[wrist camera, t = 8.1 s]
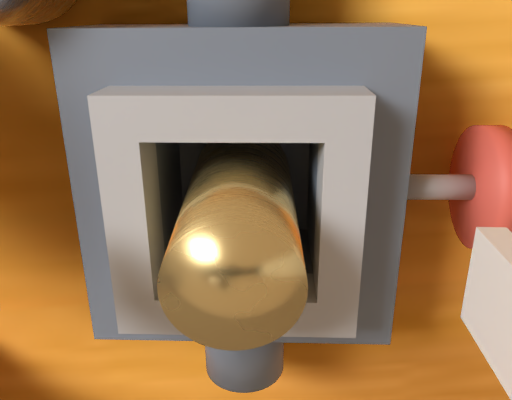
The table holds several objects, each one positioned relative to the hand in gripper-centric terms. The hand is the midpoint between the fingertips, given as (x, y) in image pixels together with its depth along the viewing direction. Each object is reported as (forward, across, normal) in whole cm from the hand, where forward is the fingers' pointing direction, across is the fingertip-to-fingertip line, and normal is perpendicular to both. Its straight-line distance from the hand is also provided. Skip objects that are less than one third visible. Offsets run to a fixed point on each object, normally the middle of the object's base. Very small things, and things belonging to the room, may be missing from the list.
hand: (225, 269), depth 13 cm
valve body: (+10, +2, 0) cm, 10 cm away
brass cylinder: (+9, 0, 0) cm, 9 cm away
